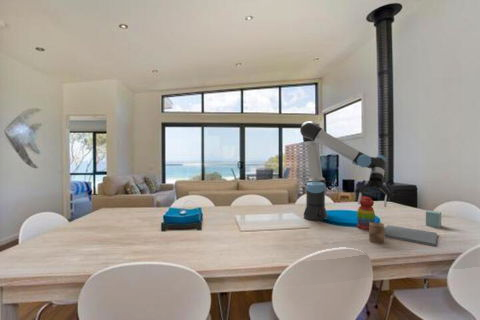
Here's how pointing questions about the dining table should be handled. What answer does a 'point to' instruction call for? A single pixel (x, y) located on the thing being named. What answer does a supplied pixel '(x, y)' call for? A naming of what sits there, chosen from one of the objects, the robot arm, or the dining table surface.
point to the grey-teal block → (433, 218)
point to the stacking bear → (365, 213)
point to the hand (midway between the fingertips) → (371, 204)
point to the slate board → (411, 235)
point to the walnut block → (376, 232)
